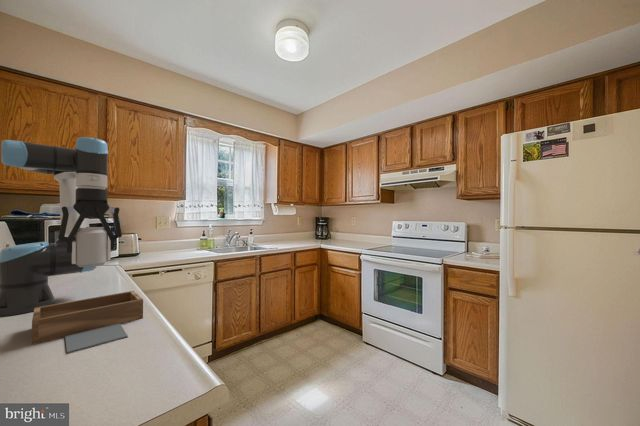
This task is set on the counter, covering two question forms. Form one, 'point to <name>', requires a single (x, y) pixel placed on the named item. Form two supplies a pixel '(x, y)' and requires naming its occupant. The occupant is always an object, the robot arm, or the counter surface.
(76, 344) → the mat
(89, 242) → the can
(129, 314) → the box frame
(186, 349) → the counter surface
